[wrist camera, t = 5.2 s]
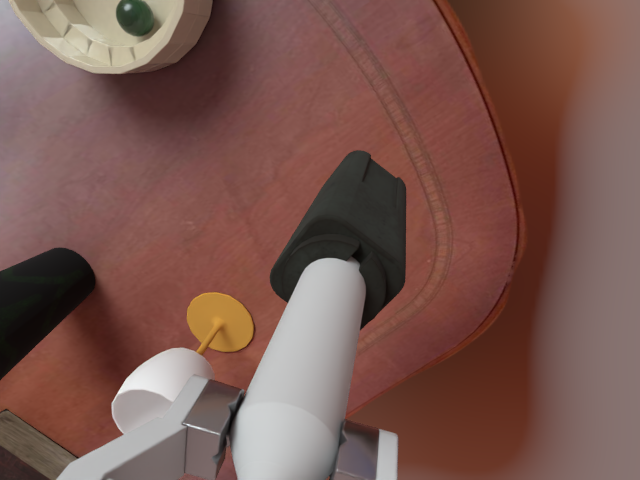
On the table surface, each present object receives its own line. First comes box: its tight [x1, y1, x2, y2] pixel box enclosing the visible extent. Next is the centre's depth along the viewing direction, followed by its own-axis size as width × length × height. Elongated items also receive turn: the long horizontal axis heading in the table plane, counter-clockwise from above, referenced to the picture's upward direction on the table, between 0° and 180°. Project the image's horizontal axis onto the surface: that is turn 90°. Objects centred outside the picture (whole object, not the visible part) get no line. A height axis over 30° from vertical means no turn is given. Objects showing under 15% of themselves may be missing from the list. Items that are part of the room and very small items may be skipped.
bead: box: [116, 0, 154, 37], centre depth 38 cm, size 3×3×3 cm
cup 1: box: [0, 248, 95, 380], centre depth 47 cm, size 10×10×16 cm
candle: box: [229, 151, 406, 480], centre depth 19 cm, size 5×5×25 cm
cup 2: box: [112, 292, 254, 434], centre depth 46 cm, size 9×9×16 cm
